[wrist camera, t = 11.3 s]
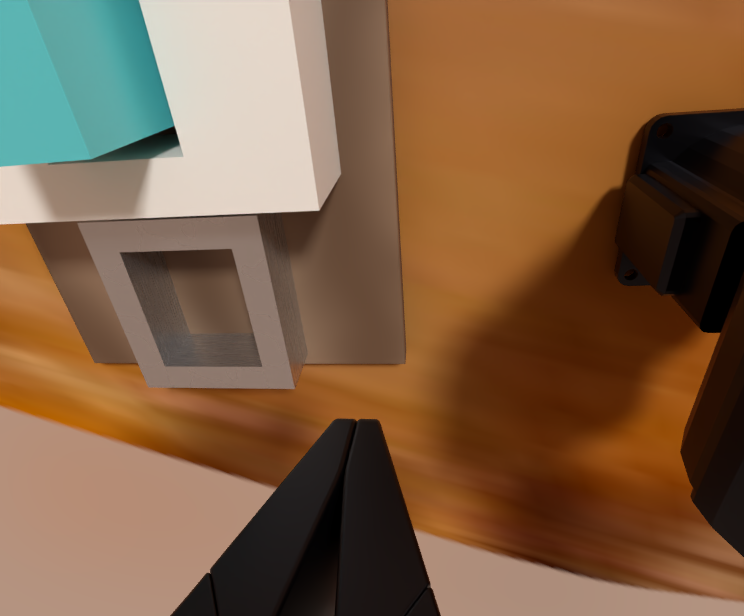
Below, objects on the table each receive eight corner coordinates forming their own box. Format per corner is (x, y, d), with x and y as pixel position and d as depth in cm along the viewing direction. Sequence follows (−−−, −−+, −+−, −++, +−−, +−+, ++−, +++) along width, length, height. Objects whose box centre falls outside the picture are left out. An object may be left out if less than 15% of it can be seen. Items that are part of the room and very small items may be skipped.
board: (377, -180, 13) (373, -194, 12) (406, 351, 22) (405, 363, 22) (-109, -104, 15) (-140, -111, 14) (106, 351, 25) (94, 363, 24)
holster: (277, 192, 18) (256, 215, 16) (307, 353, 22) (294, 388, 20) (116, 200, 19) (77, 223, 17) (174, 353, 23) (148, 387, 21)
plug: (177, -27, 15) (3, -60, 9) (212, 110, 17) (91, 159, 11) (91, -14, 15) (-131, -38, 9) (136, 117, 17) (-22, 168, 11)
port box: (302, -156, 13) (256, -222, 9) (341, 173, 17) (319, 210, 14) (-75, -99, 14) (-233, -137, 11) (53, 189, 19) (-30, 225, 15)
